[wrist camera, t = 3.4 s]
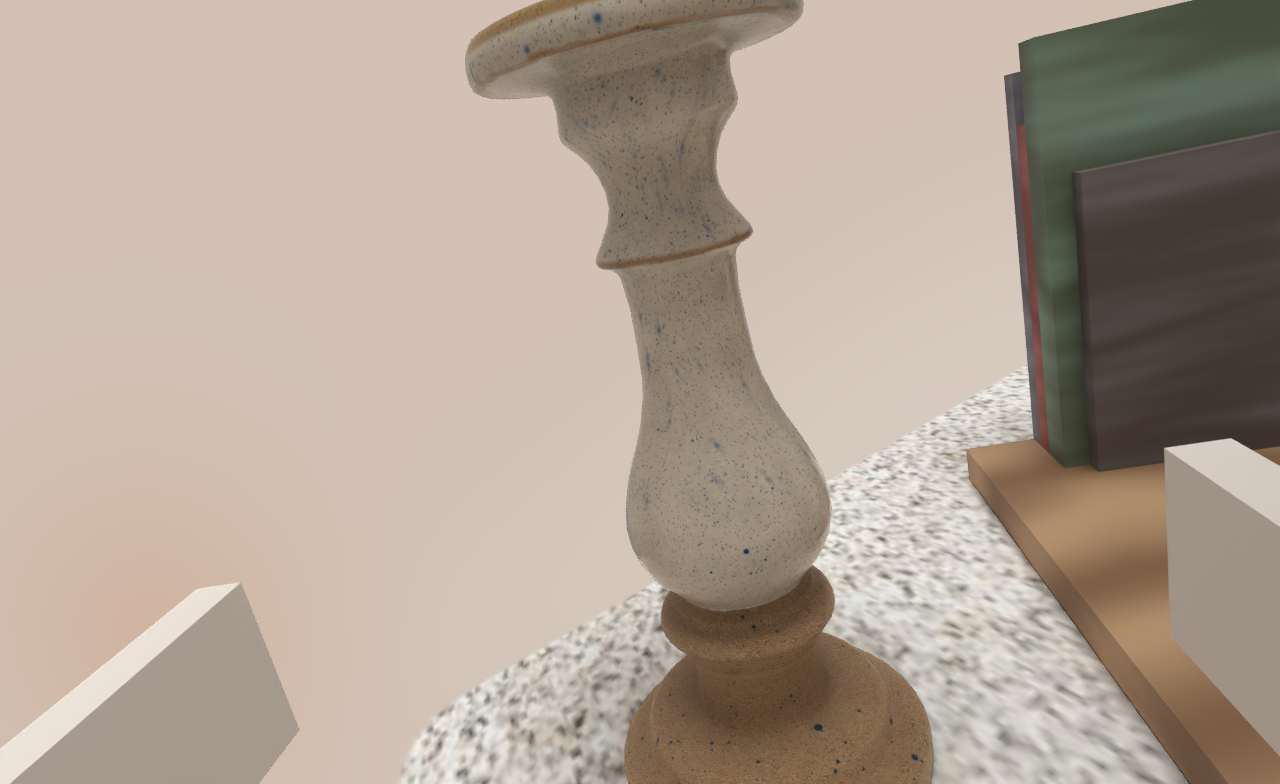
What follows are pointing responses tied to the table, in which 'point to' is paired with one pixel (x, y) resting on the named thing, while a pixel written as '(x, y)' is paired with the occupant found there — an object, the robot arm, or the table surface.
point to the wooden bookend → (1143, 327)
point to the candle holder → (707, 410)
